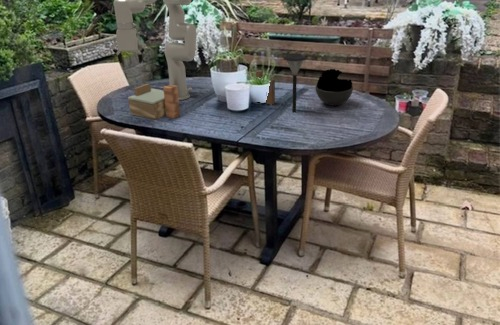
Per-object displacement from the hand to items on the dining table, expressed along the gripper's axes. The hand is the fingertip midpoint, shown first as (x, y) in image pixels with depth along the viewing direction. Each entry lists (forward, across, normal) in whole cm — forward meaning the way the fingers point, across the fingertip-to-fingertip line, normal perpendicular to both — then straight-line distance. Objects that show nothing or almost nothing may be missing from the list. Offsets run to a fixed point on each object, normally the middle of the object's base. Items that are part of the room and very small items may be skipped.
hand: (131, 62), depth 219 cm
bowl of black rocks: (+31, -102, -19) cm, 109 cm away
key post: (+30, -17, -4) cm, 35 cm away
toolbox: (+30, -5, -11) cm, 32 cm away
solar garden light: (+30, -80, -8) cm, 86 cm away
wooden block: (+31, -65, -23) cm, 75 cm away
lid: (+22, -5, -11) cm, 25 cm away
